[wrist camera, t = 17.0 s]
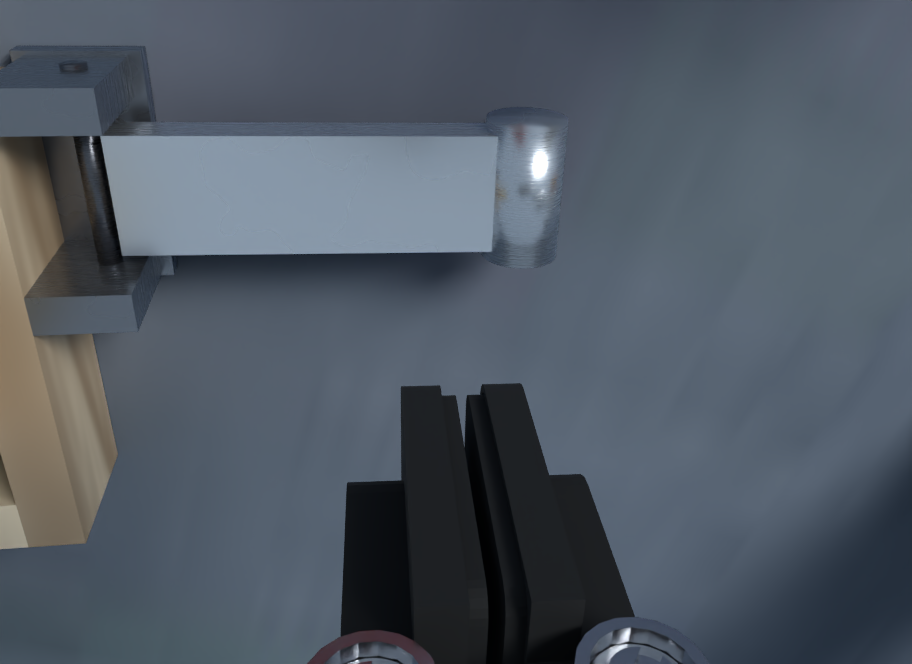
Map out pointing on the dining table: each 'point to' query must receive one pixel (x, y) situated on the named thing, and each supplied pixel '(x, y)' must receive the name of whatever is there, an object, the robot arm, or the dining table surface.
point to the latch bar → (341, 187)
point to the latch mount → (82, 181)
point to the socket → (43, 377)
